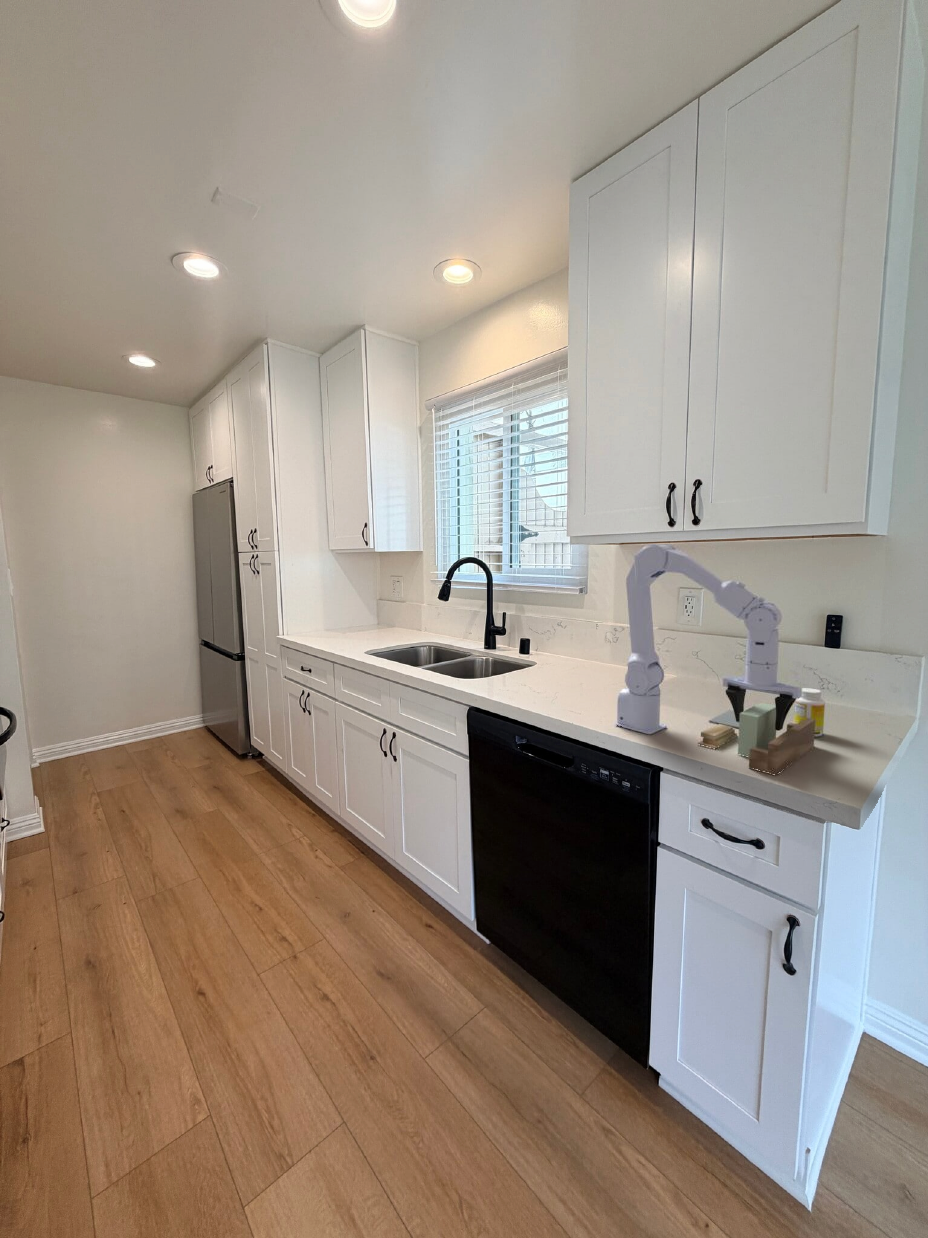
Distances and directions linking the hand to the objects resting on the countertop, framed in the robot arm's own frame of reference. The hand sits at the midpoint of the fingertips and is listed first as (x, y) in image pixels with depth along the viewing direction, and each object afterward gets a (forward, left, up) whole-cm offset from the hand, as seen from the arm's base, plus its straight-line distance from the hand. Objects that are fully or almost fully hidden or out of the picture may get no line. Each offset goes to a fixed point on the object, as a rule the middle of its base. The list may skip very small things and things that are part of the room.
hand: (758, 725), depth 107 cm
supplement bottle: (+4, +19, -6) cm, 20 cm away
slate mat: (-9, +17, -6) cm, 20 cm away
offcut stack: (-8, 0, -6) cm, 10 cm away
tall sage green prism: (0, 0, -6) cm, 6 cm away
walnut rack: (+5, 0, -5) cm, 7 cm away
